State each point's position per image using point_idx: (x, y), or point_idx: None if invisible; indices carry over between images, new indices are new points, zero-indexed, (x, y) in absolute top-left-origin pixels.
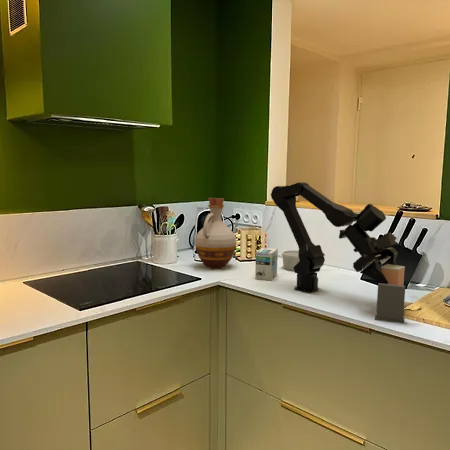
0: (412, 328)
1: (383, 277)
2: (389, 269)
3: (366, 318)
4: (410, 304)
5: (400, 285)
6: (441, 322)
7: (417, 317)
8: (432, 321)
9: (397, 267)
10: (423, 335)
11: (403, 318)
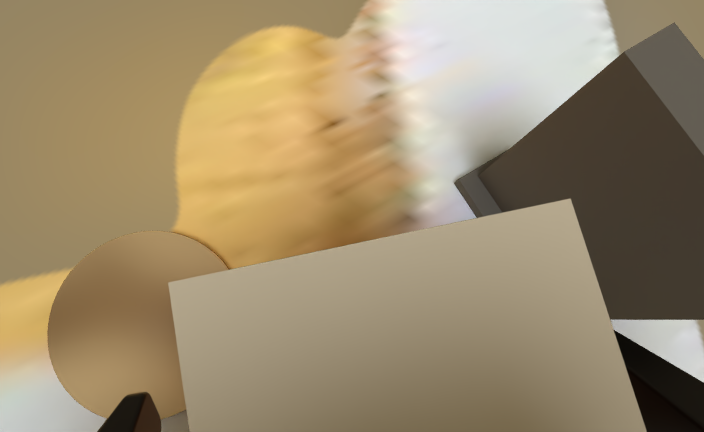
0: (533, 86)
1: (692, 379)
2: (616, 402)
3: (639, 344)
4: (112, 325)
5: (660, 92)
6: (295, 35)
7: (330, 160)
8: (323, 72)
9: (426, 330)
10: (570, 8)
11: (470, 177)
